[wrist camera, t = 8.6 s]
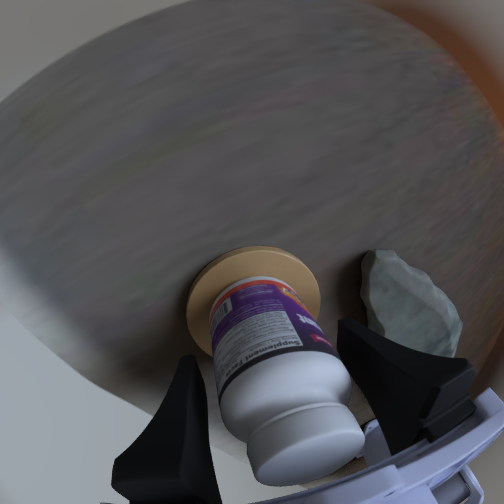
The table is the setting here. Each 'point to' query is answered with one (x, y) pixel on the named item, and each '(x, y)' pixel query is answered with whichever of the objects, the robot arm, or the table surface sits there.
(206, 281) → the coaster
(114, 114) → the table surface
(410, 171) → the table surface
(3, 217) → the table surface
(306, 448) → the pill bottle
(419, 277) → the stone
